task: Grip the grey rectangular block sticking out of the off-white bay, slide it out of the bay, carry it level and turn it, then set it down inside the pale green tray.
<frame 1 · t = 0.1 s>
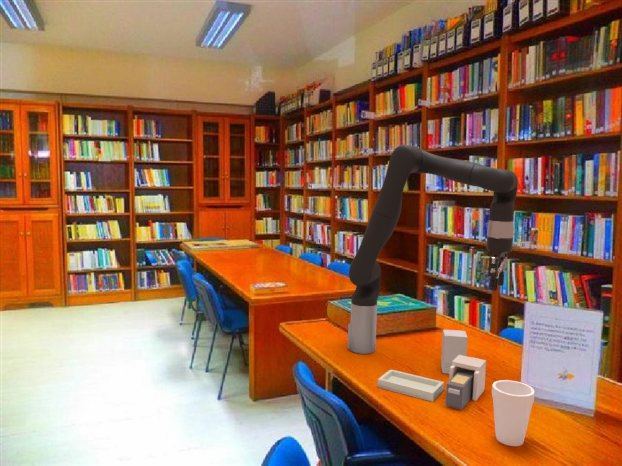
hand: (496, 287, 158), 29 cm above the table, tool pointing down, fingers open, 8 cm apart
foam cup: (509, 440, 124), on the table
bay: (466, 392, 151), on the table
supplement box: (452, 371, 168), on the table
grey rectangular block: (460, 399, 146), on the table
tray: (410, 388, 153), on the table
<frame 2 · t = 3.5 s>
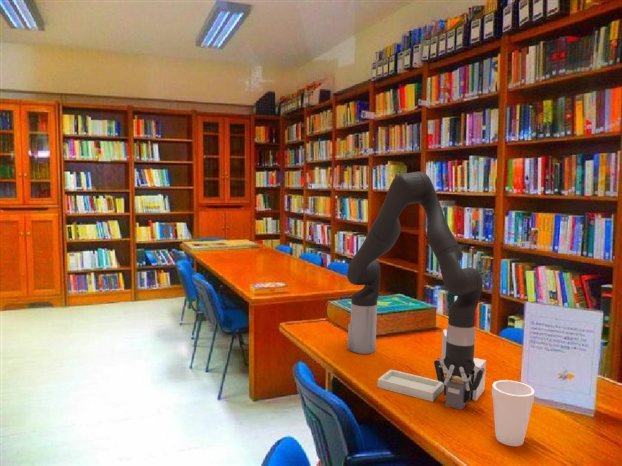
hand: (457, 399, 143), 1 cm above the table, tool pointing down, fingers closed on grey rectangular block, 4 cm apart
grey rectangular block: (460, 399, 146), on the table, touching gripper
everything else where it was.
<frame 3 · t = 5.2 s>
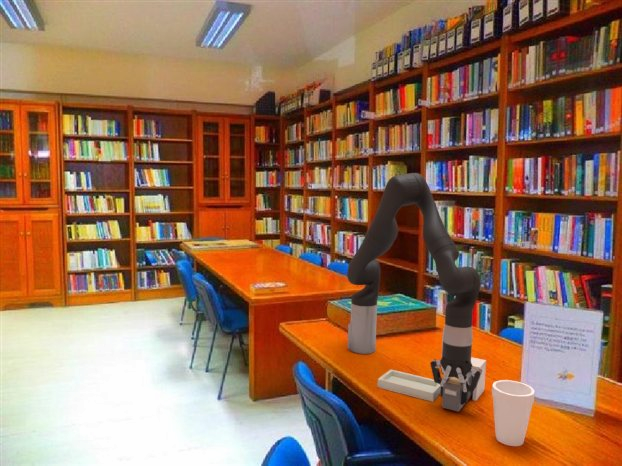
hand: (453, 401, 140), 2 cm above the table, tool pointing down, fingers closed on grey rectangular block, 4 cm apart
grey rectangular block: (457, 400, 143), point 1 cm above the table, touching gripper
everything else where it was.
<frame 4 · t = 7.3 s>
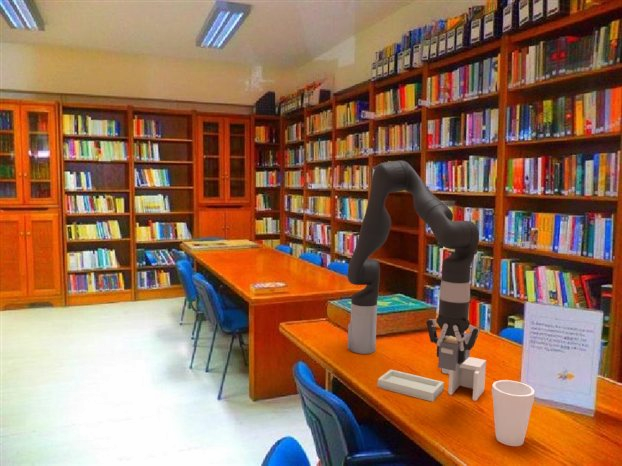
hand: (450, 360, 135), 15 cm above the table, tool pointing down, fingers closed on grey rectangular block, 4 cm apart
grey rectangular block: (454, 361, 138), point 13 cm above the table, touching gripper
everything else where it was.
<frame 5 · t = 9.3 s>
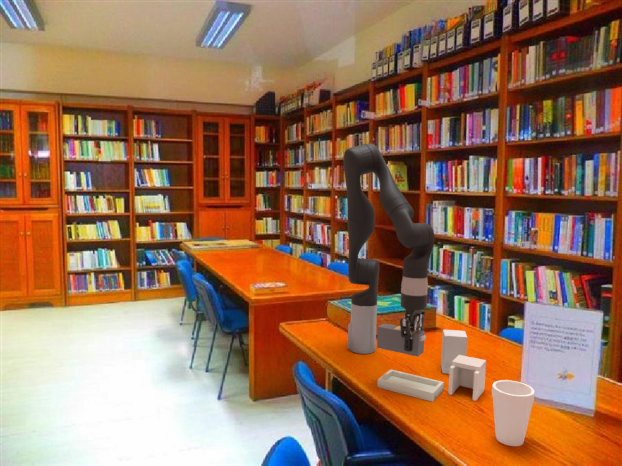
hand: (411, 348, 151), 12 cm above the table, tool pointing down, fingers closed on grey rectangular block, 4 cm apart
grey rectangular block: (399, 350, 153), point 11 cm above the table, touching gripper
everything else where it was.
when the fingers open (4 cm above the table, at t = 11.1 s): grey rectangular block stays where it is, resting on tray.
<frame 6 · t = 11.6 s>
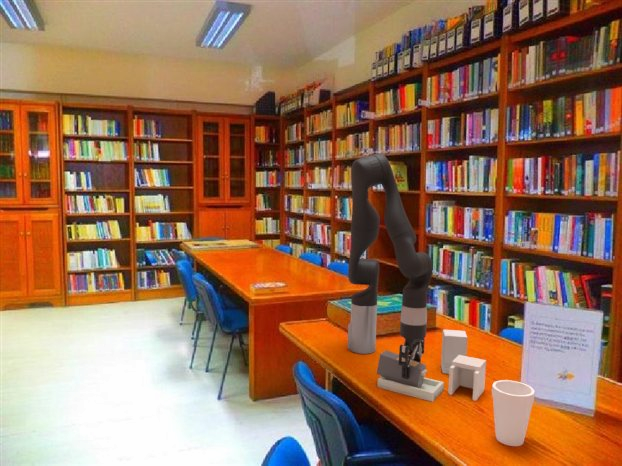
hand: (411, 373, 152), 5 cm above the table, tool pointing down, fingers open, 8 cm apart
grey rectangular block: (399, 379, 154), point 2 cm above the table, tilted 8°, touching tray
everything else where it was.
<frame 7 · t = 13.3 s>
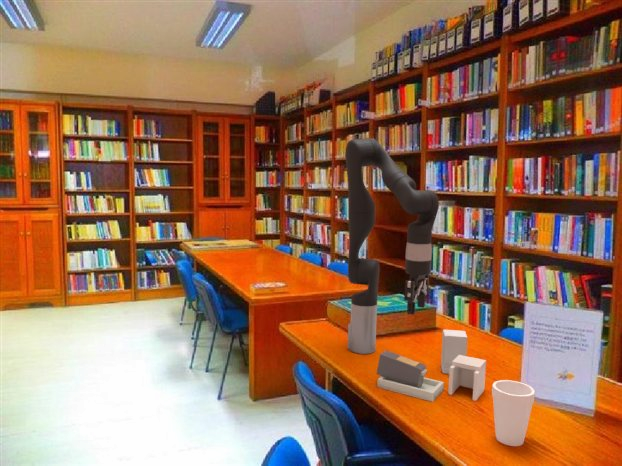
hand: (416, 310, 155), 23 cm above the table, tool pointing down, fingers open, 8 cm apart
nothing on the table moved.
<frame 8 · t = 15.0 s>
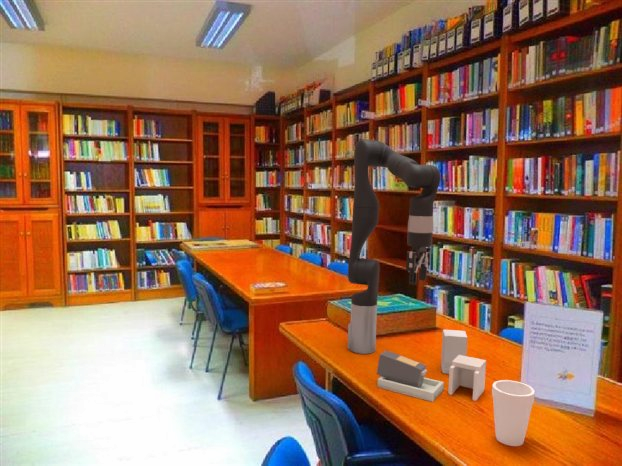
hand: (417, 282, 159), 30 cm above the table, tool pointing down, fingers open, 8 cm apart
nothing on the table moved.
at the end: grey rectangular block 3.6 cm off-centre on the tray, point 1.9 cm above the tray's base; grey rectangular block tilted 8°; the gripper is holding nothing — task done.
